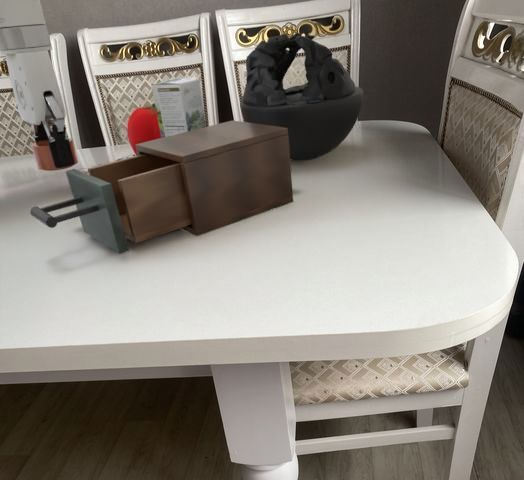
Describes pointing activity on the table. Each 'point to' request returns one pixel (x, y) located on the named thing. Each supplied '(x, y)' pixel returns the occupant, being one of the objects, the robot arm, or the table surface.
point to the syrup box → (178, 105)
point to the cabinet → (229, 171)
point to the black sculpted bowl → (301, 95)
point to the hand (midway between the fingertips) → (57, 162)
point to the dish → (48, 155)
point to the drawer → (125, 200)
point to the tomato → (143, 126)
